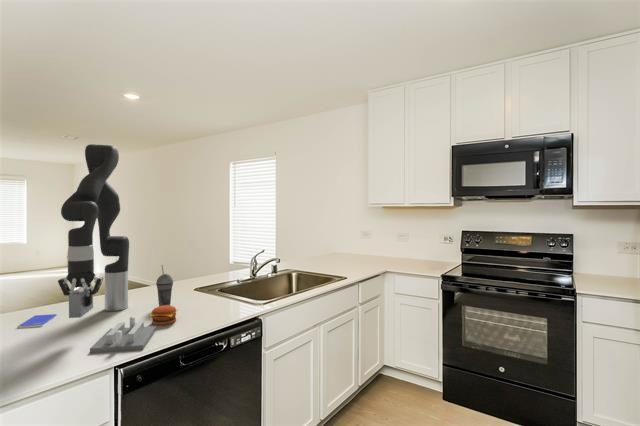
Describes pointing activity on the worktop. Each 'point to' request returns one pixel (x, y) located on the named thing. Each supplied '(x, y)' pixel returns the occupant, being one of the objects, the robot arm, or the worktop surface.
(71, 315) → the block
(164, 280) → the beverage cup
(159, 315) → the hamburger
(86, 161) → the robot arm
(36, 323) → the hard drive
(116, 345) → the dock
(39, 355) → the worktop surface
